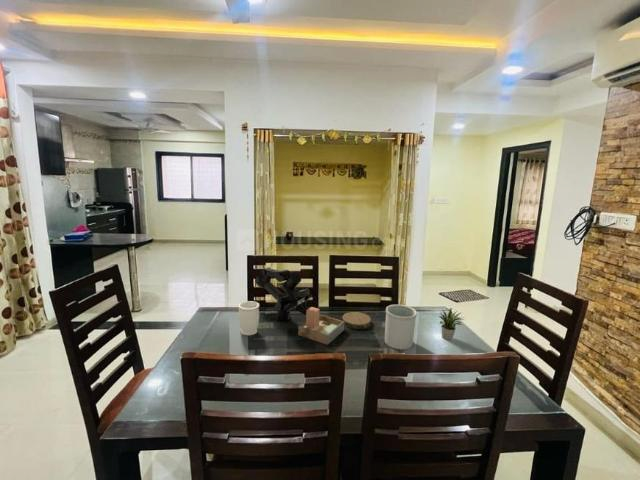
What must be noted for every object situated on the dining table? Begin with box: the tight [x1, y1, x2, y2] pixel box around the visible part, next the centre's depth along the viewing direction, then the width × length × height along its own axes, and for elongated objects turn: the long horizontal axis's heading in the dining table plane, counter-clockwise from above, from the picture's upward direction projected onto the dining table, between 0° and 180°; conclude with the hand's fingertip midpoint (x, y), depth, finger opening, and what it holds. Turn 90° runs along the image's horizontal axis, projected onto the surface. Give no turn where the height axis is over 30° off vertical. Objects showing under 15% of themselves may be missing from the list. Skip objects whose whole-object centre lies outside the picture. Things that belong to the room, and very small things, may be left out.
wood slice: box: [341, 311, 372, 330], centre depth 191 cm, size 16×16×3 cm
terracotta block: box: [305, 306, 321, 328], centre depth 179 cm, size 5×5×9 cm
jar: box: [237, 300, 260, 336], centre depth 174 cm, size 11×10×15 cm
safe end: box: [315, 317, 345, 346], centre depth 175 cm, size 7×18×5 cm, turn 150°
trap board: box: [297, 313, 333, 342], centre depth 179 cm, size 10×18×5 cm, turn 150°
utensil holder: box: [384, 304, 418, 350], centre depth 169 cm, size 15×15×18 cm
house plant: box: [438, 308, 466, 341], centre depth 175 cm, size 14×14×16 cm
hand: (307, 315), depth 180 cm, fingers closed
